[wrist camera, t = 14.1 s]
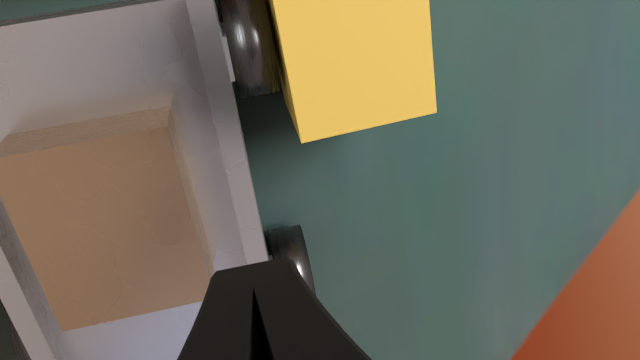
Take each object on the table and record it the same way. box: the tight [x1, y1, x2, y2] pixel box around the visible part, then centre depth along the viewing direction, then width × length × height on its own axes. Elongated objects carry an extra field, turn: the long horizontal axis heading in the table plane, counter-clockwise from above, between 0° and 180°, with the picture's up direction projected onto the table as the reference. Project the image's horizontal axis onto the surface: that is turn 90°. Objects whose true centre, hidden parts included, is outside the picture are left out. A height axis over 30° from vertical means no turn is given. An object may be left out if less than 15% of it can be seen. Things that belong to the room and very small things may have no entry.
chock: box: [265, 0, 437, 143], centre depth 16 cm, size 5×4×4 cm
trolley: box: [0, 0, 316, 360], centre depth 16 cm, size 12×10×6 cm
